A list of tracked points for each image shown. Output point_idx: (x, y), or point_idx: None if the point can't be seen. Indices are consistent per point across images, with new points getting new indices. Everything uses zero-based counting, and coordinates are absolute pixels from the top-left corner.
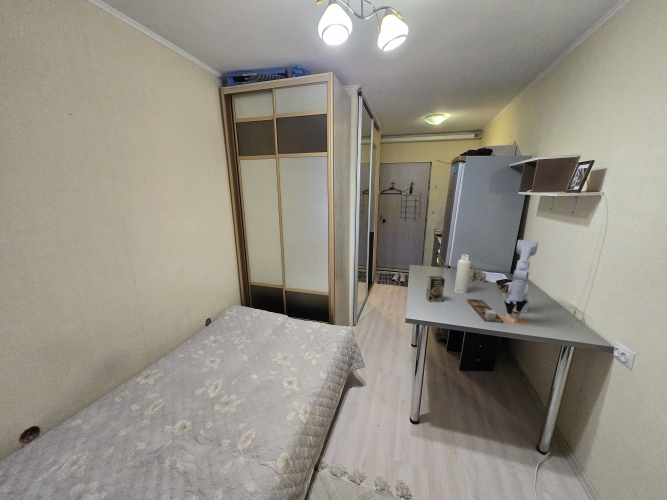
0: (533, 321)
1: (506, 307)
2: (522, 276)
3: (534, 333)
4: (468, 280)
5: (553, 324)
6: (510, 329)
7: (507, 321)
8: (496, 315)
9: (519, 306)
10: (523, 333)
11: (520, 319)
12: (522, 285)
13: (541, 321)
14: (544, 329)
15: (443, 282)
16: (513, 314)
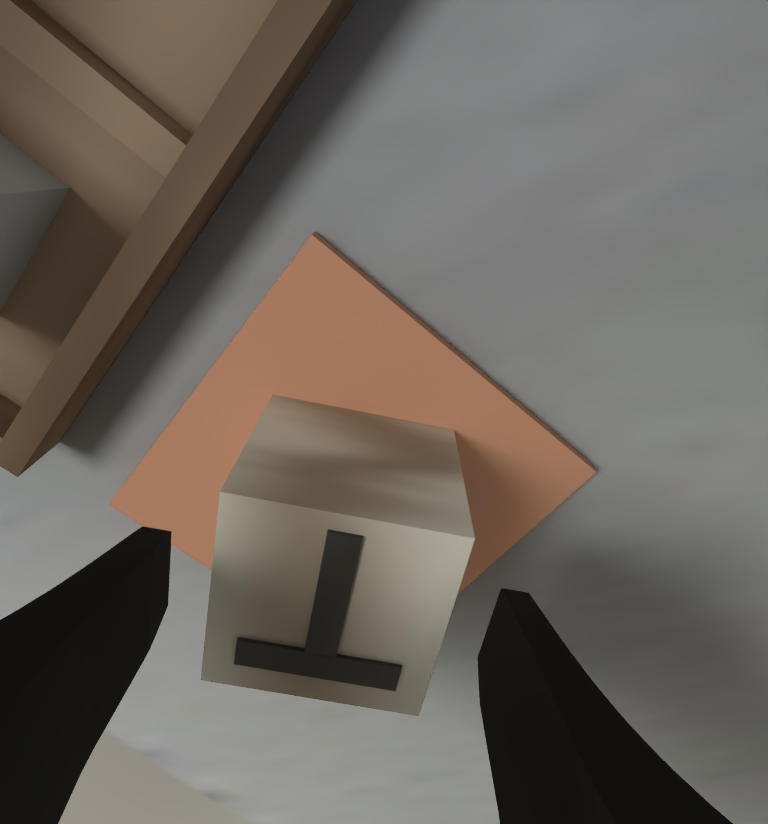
0: (635, 656)
1: (4, 623)
2: None
3: (236, 759)
4: None
5: (755, 801)
6: (11, 580)
7: (182, 474)
8: (105, 278)
9: (519, 772)
10: None
11: (491, 558)
12: None
13: (737, 709)
14: (478, 785)
15: None
16: (208, 632)
